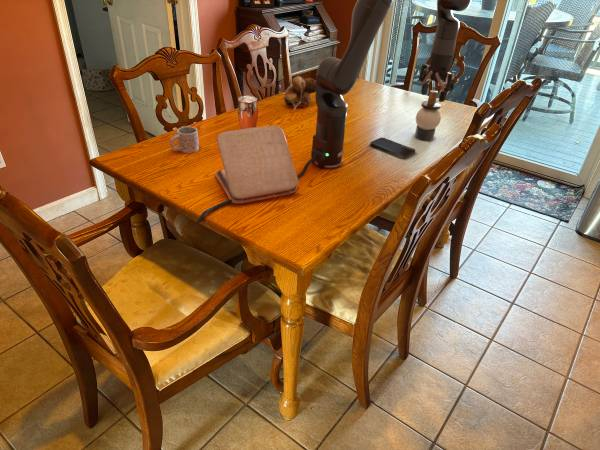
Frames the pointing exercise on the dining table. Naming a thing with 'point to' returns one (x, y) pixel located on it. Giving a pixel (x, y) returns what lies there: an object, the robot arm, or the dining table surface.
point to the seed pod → (300, 92)
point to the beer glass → (247, 111)
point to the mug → (186, 140)
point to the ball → (428, 119)
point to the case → (256, 164)
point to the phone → (393, 148)
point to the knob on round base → (431, 101)
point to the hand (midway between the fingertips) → (432, 97)
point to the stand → (424, 134)
